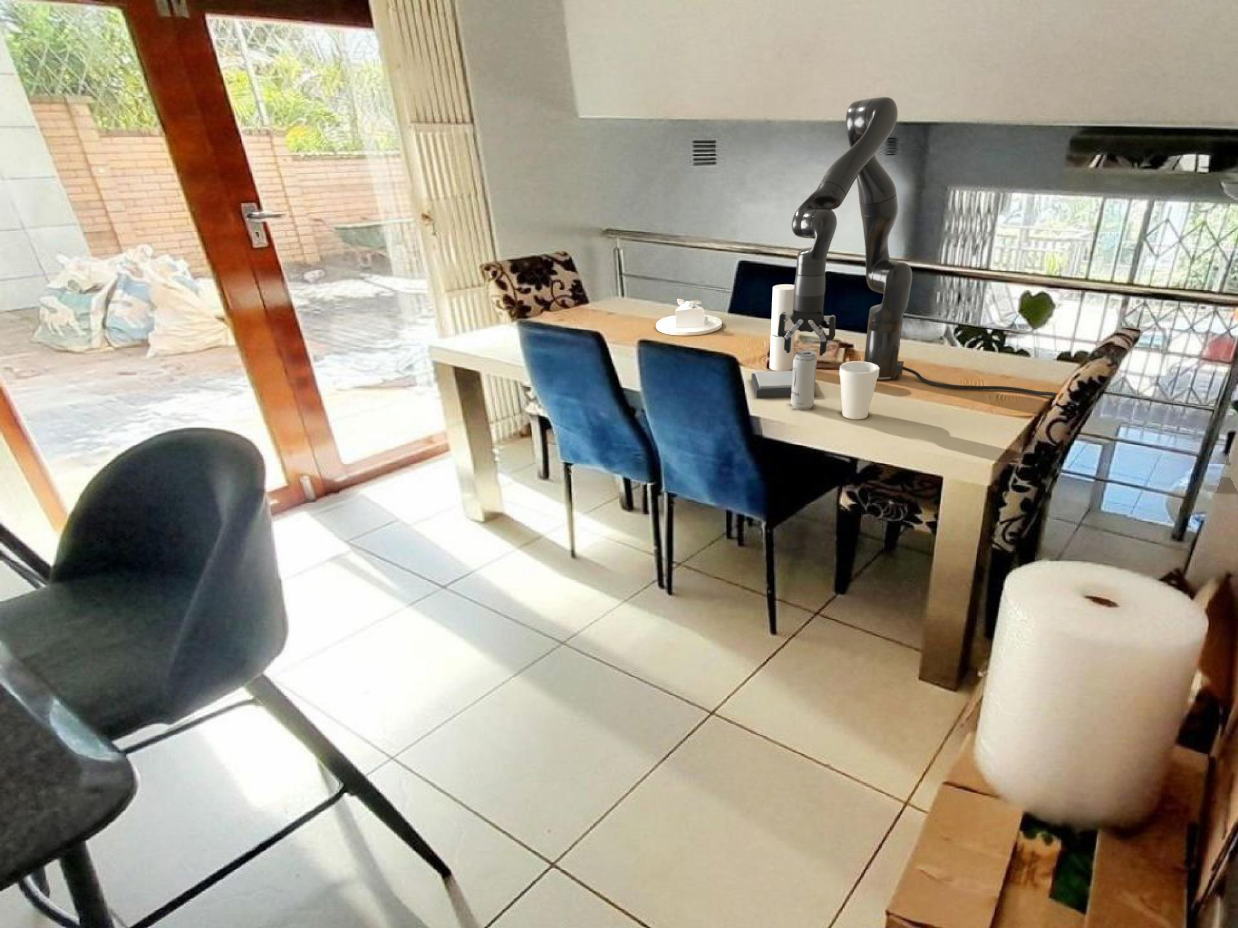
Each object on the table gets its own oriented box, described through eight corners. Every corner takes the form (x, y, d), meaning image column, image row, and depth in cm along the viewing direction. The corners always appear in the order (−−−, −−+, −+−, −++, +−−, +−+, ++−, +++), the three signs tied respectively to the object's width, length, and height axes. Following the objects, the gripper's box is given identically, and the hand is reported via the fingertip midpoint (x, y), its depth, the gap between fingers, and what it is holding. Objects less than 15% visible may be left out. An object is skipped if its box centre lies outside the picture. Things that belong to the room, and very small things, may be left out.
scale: (805, 379, 209) (806, 369, 207) (814, 396, 196) (815, 385, 195) (751, 380, 210) (751, 370, 209) (756, 398, 198) (756, 387, 196)
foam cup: (868, 424, 178) (873, 375, 172) (831, 418, 182) (835, 370, 176) (877, 410, 185) (882, 363, 179) (842, 405, 189) (846, 359, 184)
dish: (726, 333, 255) (726, 302, 250) (657, 337, 256) (656, 306, 251) (718, 316, 277) (718, 287, 272) (654, 319, 278) (653, 290, 273)
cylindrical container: (793, 371, 216) (797, 289, 204) (769, 371, 217) (772, 290, 206) (792, 363, 222) (797, 284, 211) (769, 363, 223) (773, 284, 212)
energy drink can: (787, 403, 193) (790, 350, 186) (809, 401, 193) (813, 348, 187) (794, 411, 188) (797, 357, 181) (816, 409, 188) (820, 355, 181)
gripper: (777, 293, 176) (774, 355, 184) (836, 296, 171) (830, 360, 178) (784, 287, 182) (780, 347, 190) (840, 289, 177) (834, 351, 184)
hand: (804, 353), depth 184 cm, fingers open, 8 cm apart
